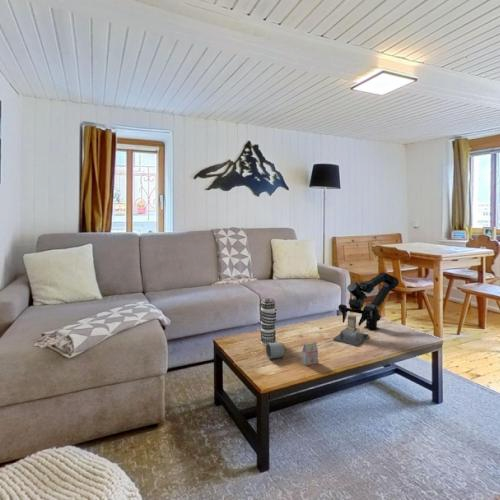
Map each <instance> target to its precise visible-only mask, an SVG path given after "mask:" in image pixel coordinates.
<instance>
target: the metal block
mask: <svg viewBox="0 0 500 500" xmlns="http://www.w3.org/2000/svg"><path fill="white" fill-rule="evenodd" d="M346 327H347V330H350V331H354V332H355V331H356V328H357V315H355V314H348V315H347V326H346Z"/></svg>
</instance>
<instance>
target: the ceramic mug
mask: <svg viewBox="0 0 500 500" xmlns="http://www.w3.org/2000/svg"><path fill="white" fill-rule="evenodd" d="M285 347H286V346H285V344H284V343H282V342H276V343H268V344H267V345H265V353H266V354H265V355H266V356H267V358H268V360H271V359H280V358H283V357H284V356H285V354H286V348H285Z"/></svg>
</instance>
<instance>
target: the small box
mask: <svg viewBox="0 0 500 500" xmlns="http://www.w3.org/2000/svg"><path fill="white" fill-rule="evenodd" d="M318 363H319V351H318V346H317V341H315V342H310V343H305V344H303V347H302V350H301V364H303V365H304V366H306V367H307V366H312V365H316V364H318Z"/></svg>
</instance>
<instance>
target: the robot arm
mask: <svg viewBox="0 0 500 500" xmlns="http://www.w3.org/2000/svg"><path fill="white" fill-rule="evenodd" d="M399 283H400V280H399V278H398V277H396V276H393V275H391V274H389V273H388V272H387V273H386V272H380V273H378V275H376V276H374V277H373V278H371V279H369V280H364V281H361V282H359V284H358V282H357V281H353V282H352V283H350V284H349V285H347V287H346V288H347V291H348V293H350V294H351V296H353V299H351V298H349V299H348V305H349V307H347V305H346V304H341V303H340V304H339V305H338V307H337V308H338V311H339V313H341V314H342V323H343V324H344V323H345V321H346V318H347V317H348V312H351V313H356V314H360V315H361V316H360V320H359V321H358V327H361V325H362V324H363V323H364V322H365V321H366V322H365V323H366V324H365V326H364V327H363V328H364V329H366V330H370V331H372V332H373V331H376V330H379V329H380V327H378V322H379V321H381V318H382V317H381V315H380V314H379V312H380V306H381V305H382V304H383V302H384V300H385V299H386V297H387V296H388V294H389V293H390V291H392V290H394V289H396V287H397V286H398V285H399ZM380 284H382V286H381V288H380V290H379V291H378V293H377V294H376V295H375V297H374V299H372V301H371V303H370V302H367V303H366V304H365V305H364V301H365V299H367V298H368V296H367V294H371V293H372V292H373V291H374V289H375V287H377V286H379V285H380ZM366 293H367V294H366ZM362 308H363V309H362Z"/></svg>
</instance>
